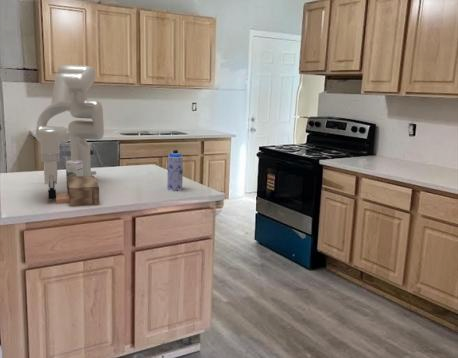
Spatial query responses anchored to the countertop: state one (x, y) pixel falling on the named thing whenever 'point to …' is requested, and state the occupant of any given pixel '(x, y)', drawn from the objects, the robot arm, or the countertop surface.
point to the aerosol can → (175, 171)
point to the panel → (62, 198)
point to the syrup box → (74, 168)
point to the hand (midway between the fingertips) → (52, 198)
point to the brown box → (83, 190)
